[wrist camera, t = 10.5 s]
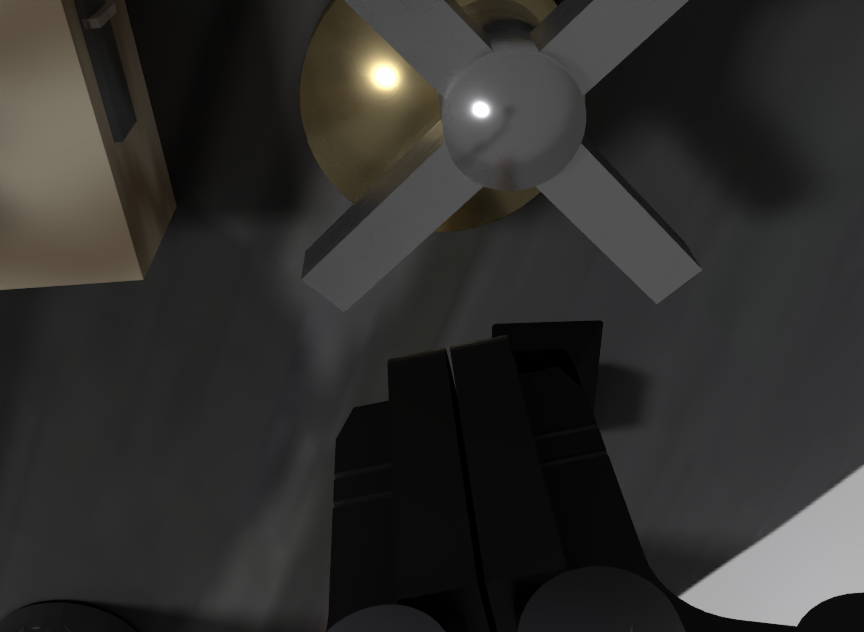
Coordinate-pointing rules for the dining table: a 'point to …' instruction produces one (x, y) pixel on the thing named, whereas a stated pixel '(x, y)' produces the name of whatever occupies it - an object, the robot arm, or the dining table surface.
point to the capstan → (472, 130)
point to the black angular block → (557, 349)
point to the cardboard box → (76, 147)
